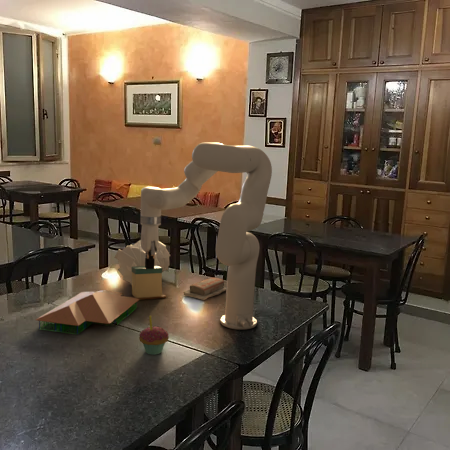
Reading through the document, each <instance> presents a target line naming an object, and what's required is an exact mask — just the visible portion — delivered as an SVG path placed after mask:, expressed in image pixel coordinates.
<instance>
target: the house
mask: <svg viewBox="0 0 450 450" xmlns="http://www.w3.org/2000/svg"><path fill="white" fill-rule="evenodd" d="M131 297H132V296H124V295H123V292H120V291H113V290H107V289H98V290H97V291H81V292H79V293H78V294H76V295H74V296H73V297H71V298H69V299H68V300H66V301H64V302H63V303H61V304H59V305H57V306H55V307H54V308H53V309H51V310H49V311H47V312H46V313H44V314H42V315H41V316H39V317H38V318H35V321H38V329H39V330H43V331H49V332H58V333H65V334H72V335H79V334H80V333H81V332H83V331H84V330H86V329H87V328H88V327H90V326H91V325H92V324H94V325H96V324H100V325H103V326H104V325H108V326H109V327H112V323H114V322H115V321H116V320H119V321H118V324H120V323H121V322H122V321H123V319H121V317H124V319H126V318H127V317H128V316H129V314H128V311H130V313H133V312H135V310H136V309H137V307H138V304H137V302H139V301H141V300H140V299H137V298H131ZM86 322H87V325H86ZM49 324H50V327H53V329H48V325H49ZM70 326H71V327H72V330H74V332H70V331H69V330H70ZM45 327H46V328H45ZM61 328H62V330H61ZM66 329H67V331H68V332H67V331H66ZM79 329H80V331H79Z"/></svg>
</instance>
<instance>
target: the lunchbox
mask: <svg viewBox="0 0 450 450" xmlns="http://www.w3.org/2000/svg"><path fill="white" fill-rule="evenodd" d="M131 295H132V297H136V298H144V297H158V296H162V295H163V272H162V268H161V267H159V266H154V269H146V268H145V266H134V267H132V285H131Z"/></svg>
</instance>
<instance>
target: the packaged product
mask: <svg viewBox="0 0 450 450" xmlns="http://www.w3.org/2000/svg"><path fill="white" fill-rule="evenodd" d="M226 287H227V286H226ZM226 287H225V281H224V280H223V279H222V278H218V277H213V276H212V277H209V278H207V279H206V278H205V279H204V280H201V281H198V282H195V283H193V284H190V285H189V289H187V290H185V291H183V292H182V293H183V296H185V297H190V298H194V299H198V300H200V301H206V300H207V299H209V298H212V297H214V296H218V295H221V293H223V292H225V291H226Z"/></svg>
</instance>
